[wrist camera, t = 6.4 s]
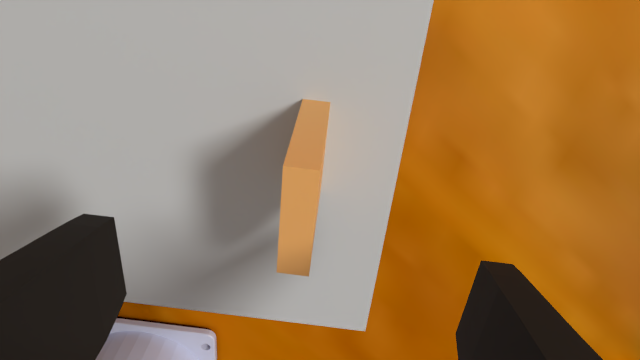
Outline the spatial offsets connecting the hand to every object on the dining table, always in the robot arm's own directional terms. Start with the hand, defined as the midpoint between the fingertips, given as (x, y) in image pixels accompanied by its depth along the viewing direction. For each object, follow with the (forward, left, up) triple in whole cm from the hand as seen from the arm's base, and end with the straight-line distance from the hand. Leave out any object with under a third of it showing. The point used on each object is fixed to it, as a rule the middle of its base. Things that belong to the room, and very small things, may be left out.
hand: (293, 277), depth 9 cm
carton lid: (0, +5, -6) cm, 8 cm away
